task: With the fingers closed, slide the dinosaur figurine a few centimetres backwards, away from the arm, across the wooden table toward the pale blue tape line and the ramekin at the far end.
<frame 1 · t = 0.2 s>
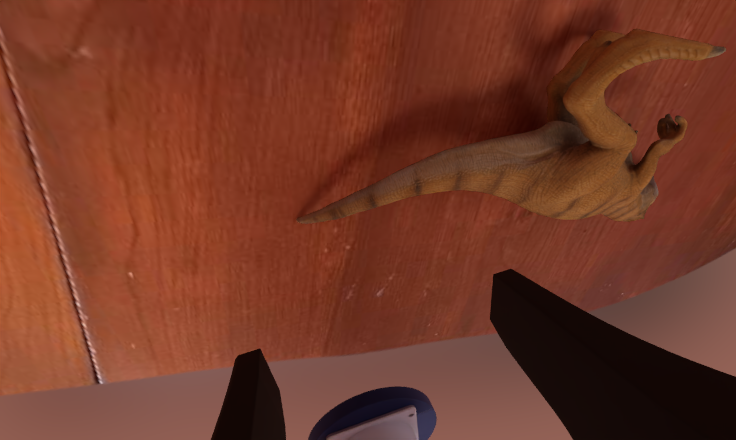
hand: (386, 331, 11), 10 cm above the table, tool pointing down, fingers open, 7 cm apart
dinosaur figurine: (510, 137, 21), on the table
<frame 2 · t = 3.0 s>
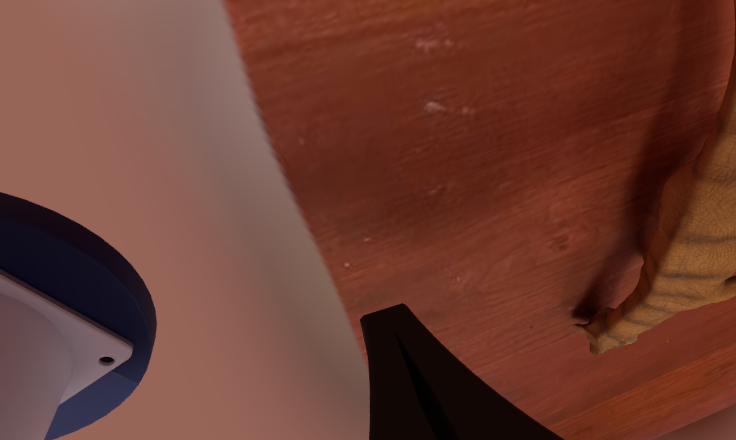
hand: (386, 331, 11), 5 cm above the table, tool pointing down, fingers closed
dinosaur figurine: (655, 156, 18), on the table
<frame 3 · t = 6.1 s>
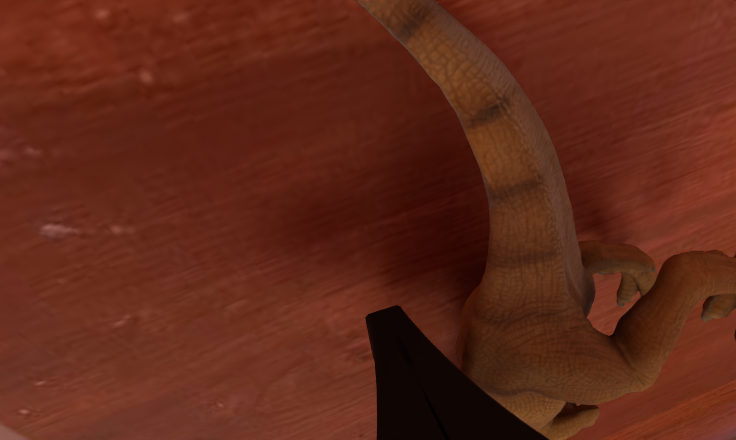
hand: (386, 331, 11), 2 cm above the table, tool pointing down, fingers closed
dinosaur figurine: (481, 249, 14), on the table, touching gripper
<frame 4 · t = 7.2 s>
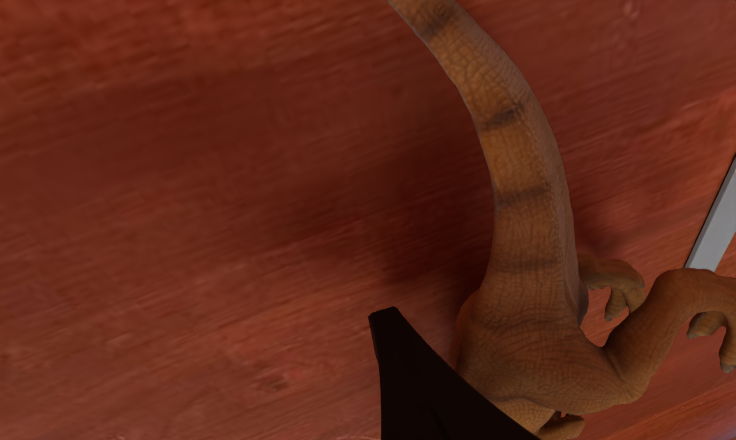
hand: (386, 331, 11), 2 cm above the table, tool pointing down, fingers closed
dinosaur figurine: (477, 256, 14), on the table, touching gripper
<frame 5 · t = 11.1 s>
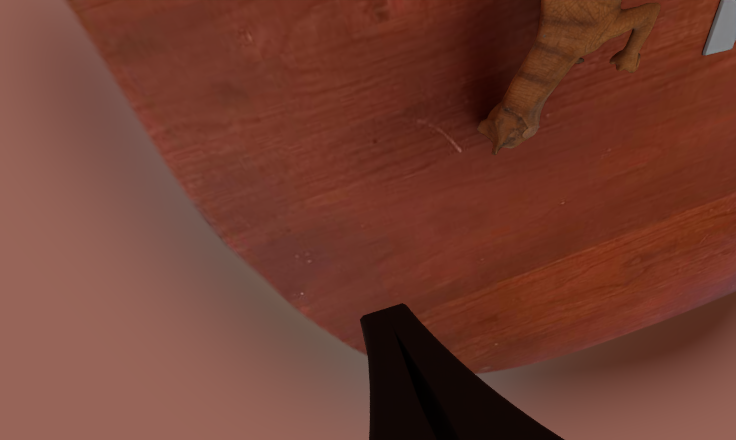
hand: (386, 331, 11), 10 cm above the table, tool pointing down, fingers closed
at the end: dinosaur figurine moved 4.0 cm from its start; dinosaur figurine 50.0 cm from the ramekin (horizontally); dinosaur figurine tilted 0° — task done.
